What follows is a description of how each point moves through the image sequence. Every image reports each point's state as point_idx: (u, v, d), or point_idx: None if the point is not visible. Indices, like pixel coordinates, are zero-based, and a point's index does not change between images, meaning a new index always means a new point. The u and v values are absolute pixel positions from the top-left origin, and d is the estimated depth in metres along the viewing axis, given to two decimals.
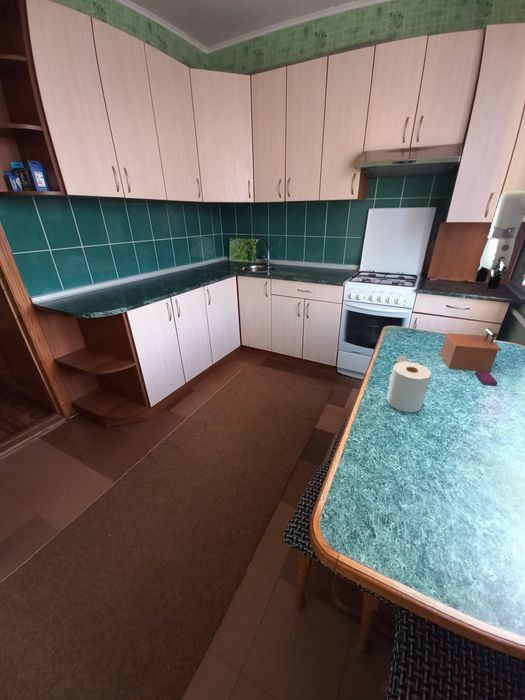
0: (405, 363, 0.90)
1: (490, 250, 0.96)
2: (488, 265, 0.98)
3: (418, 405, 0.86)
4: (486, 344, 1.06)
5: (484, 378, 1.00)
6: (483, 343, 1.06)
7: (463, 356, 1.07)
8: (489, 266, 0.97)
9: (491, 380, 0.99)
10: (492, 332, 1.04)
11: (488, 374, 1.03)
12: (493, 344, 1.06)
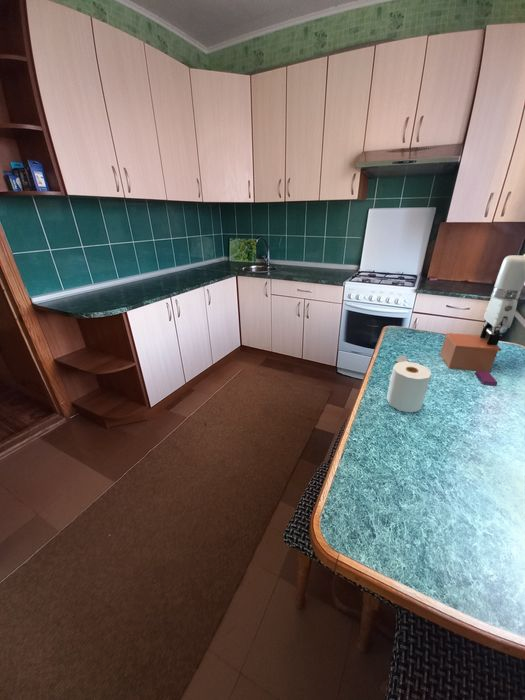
0: (405, 363, 0.90)
1: (494, 308, 1.01)
2: (491, 322, 1.02)
3: (418, 405, 0.86)
4: (486, 344, 1.06)
5: (484, 378, 1.00)
6: (483, 343, 1.06)
7: (463, 356, 1.07)
8: (493, 323, 1.02)
9: (491, 380, 0.99)
10: None
11: (488, 374, 1.03)
12: None
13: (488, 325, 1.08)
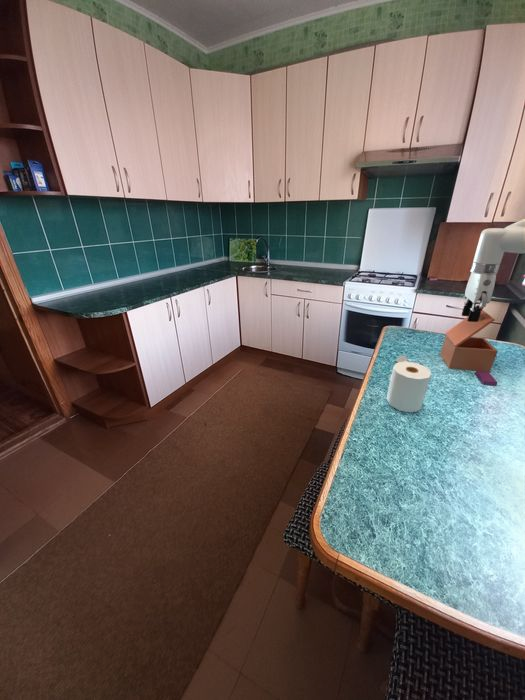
0: (405, 363, 0.90)
1: (473, 284, 0.99)
2: (471, 298, 1.01)
3: (418, 405, 0.86)
4: (480, 321, 1.03)
5: (484, 378, 1.00)
6: (477, 322, 1.04)
7: (463, 356, 1.07)
8: (472, 299, 1.00)
9: (491, 380, 0.99)
10: None
11: (488, 374, 1.03)
12: (486, 317, 1.02)
13: (469, 302, 1.06)
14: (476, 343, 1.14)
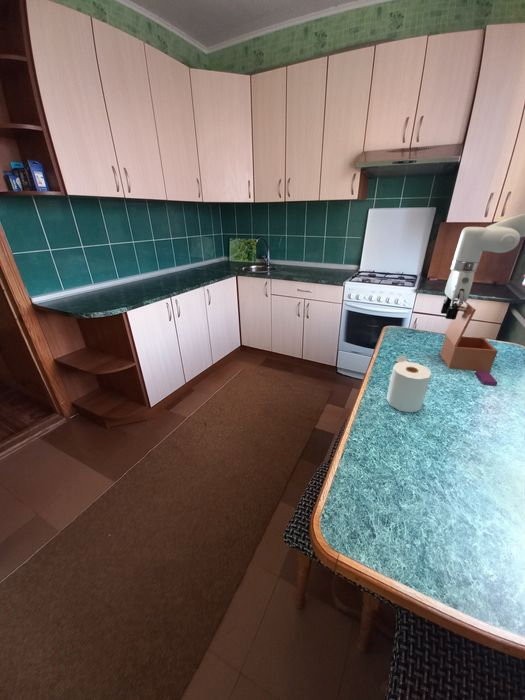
0: (405, 363, 0.90)
1: (452, 281, 1.01)
2: (450, 296, 1.02)
3: (418, 405, 0.86)
4: (465, 315, 1.03)
5: (484, 378, 1.00)
6: (463, 316, 1.04)
7: (463, 356, 1.07)
8: (451, 296, 1.01)
9: (491, 380, 0.99)
10: None
11: (488, 374, 1.03)
12: (468, 309, 1.02)
13: (448, 300, 1.08)
14: (476, 343, 1.14)
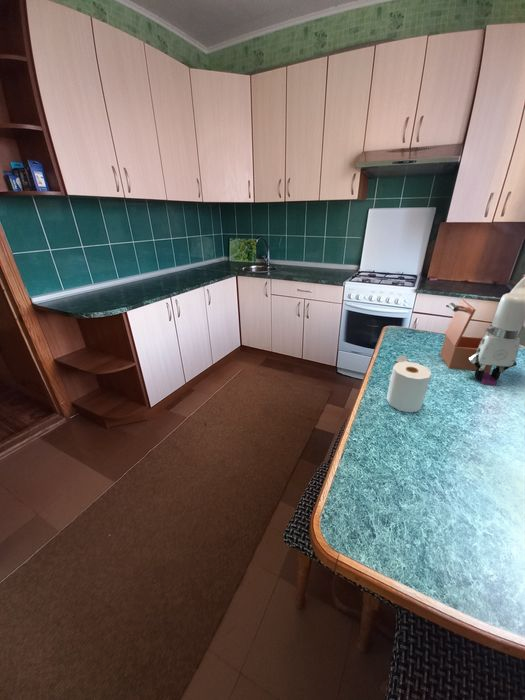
0: (405, 363, 0.90)
1: None
2: None
3: (418, 405, 0.86)
4: (465, 315, 1.03)
5: (484, 378, 1.00)
6: (463, 316, 1.04)
7: (463, 356, 1.07)
8: None
9: (491, 380, 0.99)
10: (452, 309, 1.04)
11: (488, 374, 1.03)
12: (467, 309, 1.02)
13: (498, 367, 0.99)
14: (476, 343, 1.14)
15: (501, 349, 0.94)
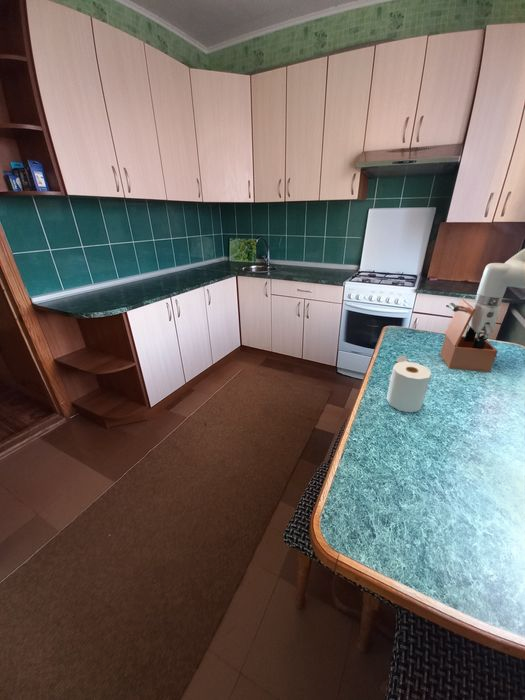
0: (405, 363, 0.90)
1: (476, 314, 1.03)
2: (474, 328, 1.05)
3: (418, 405, 0.86)
4: (465, 315, 1.03)
5: None
6: (463, 316, 1.04)
7: (463, 356, 1.07)
8: (476, 329, 1.04)
9: None
10: (452, 309, 1.04)
11: None
12: (467, 309, 1.02)
13: (471, 328, 1.11)
14: None
15: None
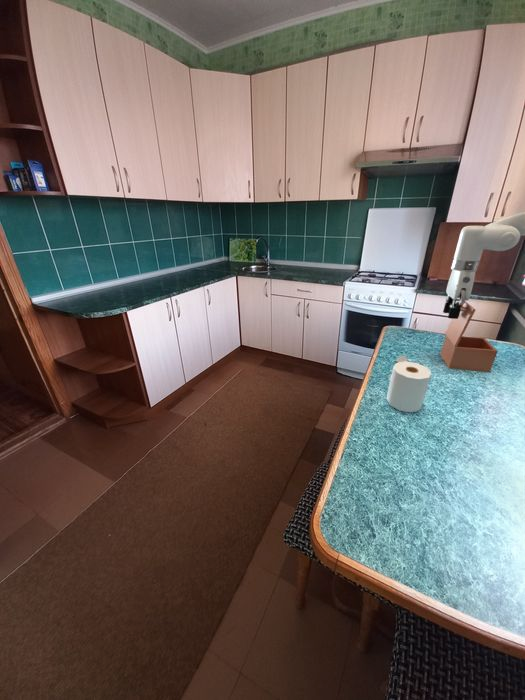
0: (405, 363, 0.90)
1: (453, 281, 1.00)
2: (451, 295, 1.02)
3: (418, 405, 0.86)
4: (465, 315, 1.03)
5: None
6: (463, 316, 1.04)
7: (463, 356, 1.07)
8: (452, 296, 1.01)
9: None
10: None
11: None
12: (467, 309, 1.02)
13: (450, 299, 1.07)
14: (476, 343, 1.14)
15: None
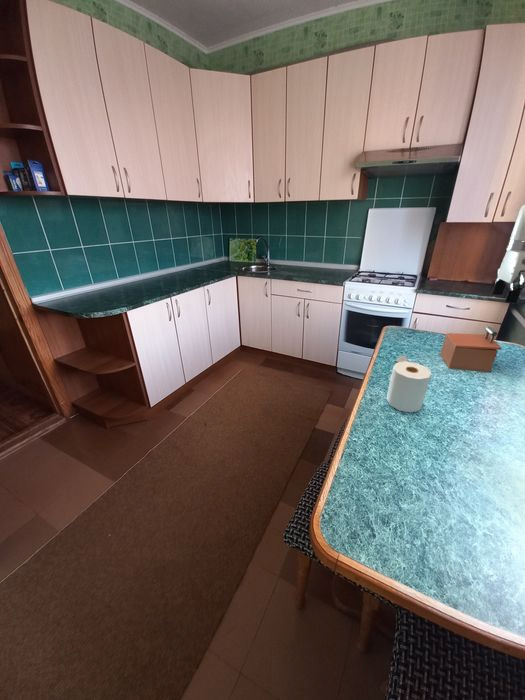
0: (405, 363, 0.90)
1: (509, 263, 0.94)
2: (506, 279, 0.95)
3: (418, 405, 0.86)
4: (487, 343, 1.05)
5: None
6: (483, 342, 1.06)
7: (463, 356, 1.07)
8: (508, 279, 0.95)
9: None
10: (492, 331, 1.04)
11: None
12: (493, 343, 1.05)
13: (500, 280, 1.02)
14: None
15: None
